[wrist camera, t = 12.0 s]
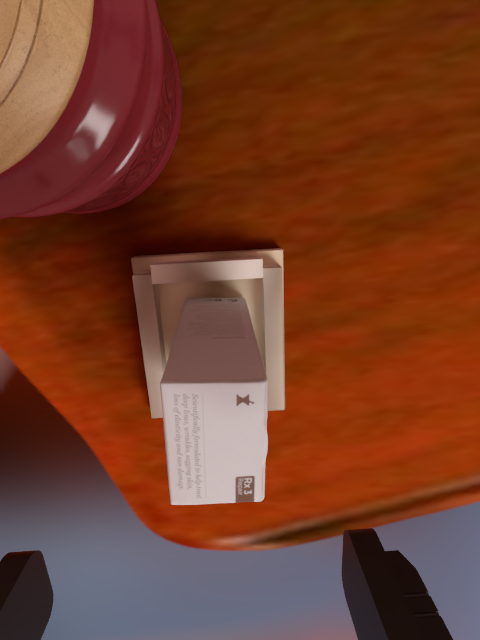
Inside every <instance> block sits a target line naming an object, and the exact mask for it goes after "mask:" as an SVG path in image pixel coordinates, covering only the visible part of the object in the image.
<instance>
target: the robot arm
mask: <svg viewBox="0 0 480 640" xmlns="http://www.w3.org/2000/svg"><path fill="white" fill-rule="evenodd" d="M342 555H343V556H342V581H343V588H344V593H345V597H346V601H347V604H348V608H349V611H350V614H351V617H352V621H353V624H354V627H355V631H356V634H357V637H358V640H453V639H452V637H451V635H450V633H449V631H448V629H447V627H446V625H445V623H444V621H443V619H442V618H441V616H439V614H438V610H437V608H436V606H435V604H434V602H433V600H432V598H431V597H430V596H429V595H428V591H427V589H426V587H425V585H424V583H423V581H422V579H421V577H420V575H419V573H418V572H417V570H416V568H415V567H414V566H413V565H412V564H411V563H410V562H409V561H408V560H407V559H406V558H405V557H404V556H403V555H402V554H401V553H400V552H399V551H398V550H397V551H384V549H383V546H382V544H381V542H380V540H379V538H378V536H377V534H376V532H375V530H374V529H372V528H370V529H355V530H345V531H344V534H343V554H342ZM52 606H53V590H52V586H51V583H50V579H49V575H48V572H47V568H46V565H45V561H44V558H43V554H42V553H41V551H23V552H10V553H8V554H6V555H5V556H4V557H3V558H2V560H1V561H0V640H41V637H42V635H43V633H44V630H45V628H46V626H47V623H48V621H49V618H50V615H51V611H52Z"/></svg>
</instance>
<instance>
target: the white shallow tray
mask: <svg viewBox="0 0 480 640" xmlns="http://www.w3.org/2000/svg"><path fill="white" fill-rule="evenodd" d="M131 262H132V269H133V275H132V279H133V287H134V294H135V301H136V308H137V315H138V322H139V330H140V337H141V344H142V351H143V358H144V365H145V373H146V380H147V387H148V394H149V401H150V409H151V416H152V418H163V412H162V401H161V390H160V381H161V379H162V377H163V374H164V371H165V368H166V365H167V360H168V357H169V353H170V350H171V346H172V343H173V339H174V336H175V333H176V330H177V326H178V323H179V320H180V317H181V313H182V310H183V306H184V303H185V300H186V299H187V298H245V300H246V303H247V306H248V309H249V313H250V317H251V321H252V324H253V329H254V332H255V336H256V339H257V343H258V346H259V350H260V353H261V357H262V360H263V364H264V368H265V372H266V375H267V380H268V392H267V411H272V410H284V409H285V365H284V293H283V250H282V249H281V248H276V249H257V250H239V251H221V252H202V253H184V254H166V255H147V256H134V257H132V258H131Z"/></svg>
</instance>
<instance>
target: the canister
mask: <svg viewBox="0 0 480 640" xmlns="http://www.w3.org/2000/svg"><path fill="white" fill-rule="evenodd" d="M182 106H183V96H182V84H181V76H180V71H179V66H178V63H177V59H176V56H175V52H174V49H173V46H172V43H171V40H170V38H169V35H168V33H167V31H166V28H165V26H164V24H163V22H162V20H161V19H160V16H159V11H158V6H157V2H156V0H0V219H5V218H10V217H41V216H48V215H54V214H58V213H65V214H87V213H97V212H102V211H106V210H110V209H113V208H116V207H119V206H121V205H123V204H125V203H127V202H129V201H131V200H132V199H134V198H136V197H137V196H138V195H140V194H141V193H142V192H144V191H145V190H146V189H147V188H148V187H149V186H150V185H151V184H152V183H153V182H154V181H155V180H156V179H157V177H158V176H159V175H160V173H161V172H162V171H163V169H164V168H165V166H166V164H167V163H168V161H169V159H170V157H171V155H172V152H173V150H174V147H175V145H176V141H177V138H178V135H179V130H180V125H181V119H182Z"/></svg>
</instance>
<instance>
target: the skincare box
mask: <svg viewBox="0 0 480 640" xmlns="http://www.w3.org/2000/svg"><path fill="white" fill-rule="evenodd" d="M160 390H161V401H162V412H163V423H164V435H165V447H166V459H167V470H168V481H169V492H170V504H171V505H196V504H216V503H236V502H260V501H262V500H263V499H264V488H265V460H266V455H267V448H268V436H267V392H268V380H267V375H266V372H265V368H264V364H263V360H262V357H261V353H260V350H259V346H258V343H257V339H256V336H255V332H254V329H253V324H252V321H251V317H250V313H249V309H248V306H247V303H246V300H245V298H187V299H186V300H185V303H184V306H183V310H182V313H181V317H180V320H179V323H178V326H177V330H176V333H175V336H174V339H173V343H172V346H171V350H170V353H169V357H168V360H167V365H166V368H165V371H164V374H163V377H162V379H161V381H160Z"/></svg>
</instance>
